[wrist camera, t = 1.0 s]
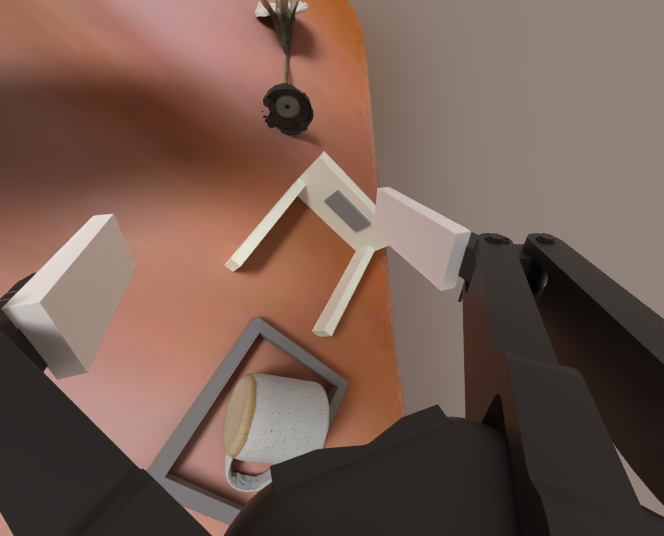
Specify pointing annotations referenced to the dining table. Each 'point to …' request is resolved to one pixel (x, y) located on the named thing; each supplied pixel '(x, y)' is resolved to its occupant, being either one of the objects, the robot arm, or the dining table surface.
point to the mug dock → (341, 215)
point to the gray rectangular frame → (159, 468)
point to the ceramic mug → (272, 424)
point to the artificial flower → (284, 99)
